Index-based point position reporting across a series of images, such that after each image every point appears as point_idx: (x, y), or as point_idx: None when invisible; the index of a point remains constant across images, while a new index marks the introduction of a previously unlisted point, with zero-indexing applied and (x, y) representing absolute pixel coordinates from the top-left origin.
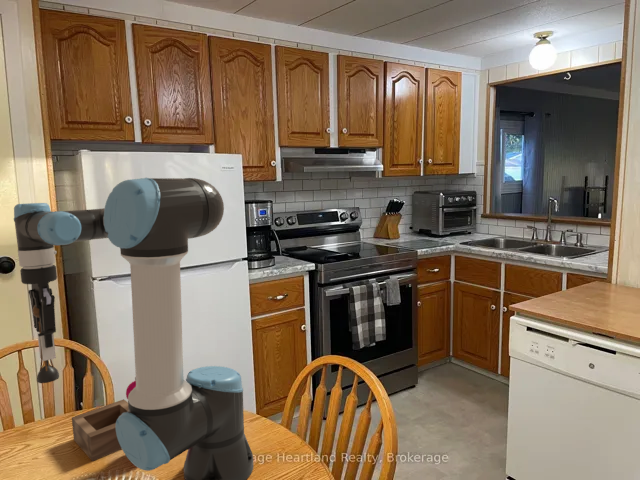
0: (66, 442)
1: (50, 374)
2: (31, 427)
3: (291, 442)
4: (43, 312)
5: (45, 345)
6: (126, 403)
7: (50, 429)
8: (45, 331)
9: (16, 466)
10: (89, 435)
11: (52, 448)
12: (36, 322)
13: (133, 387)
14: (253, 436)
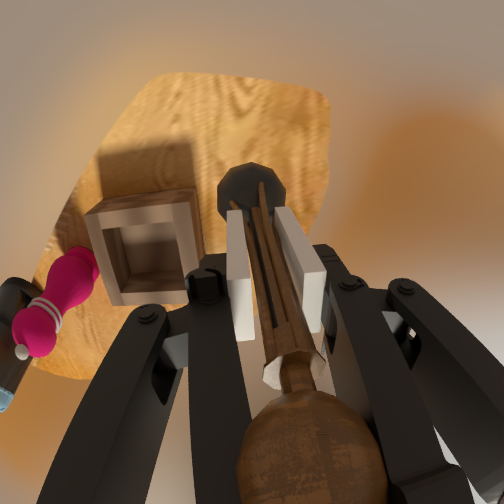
0: (196, 174)
1: (220, 207)
2: (315, 134)
3: (54, 370)
4: (51, 472)
5: (221, 259)
6: (182, 300)
7: (276, 160)
8: (127, 327)
9: (170, 88)
10: (90, 215)
11: (191, 148)
12: (367, 325)
13: (14, 331)
14: (74, 359)
